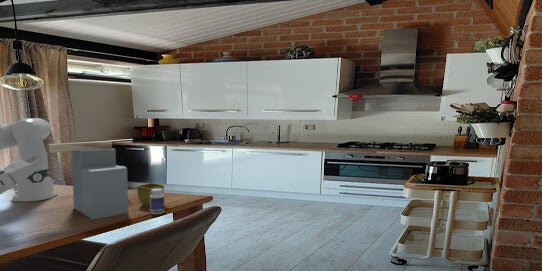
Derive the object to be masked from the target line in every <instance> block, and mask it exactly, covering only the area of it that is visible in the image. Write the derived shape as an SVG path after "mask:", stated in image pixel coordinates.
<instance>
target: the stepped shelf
mask: <svg viewBox="0 0 542 271" xmlns="http://www.w3.org/2000/svg"><path fill="white" fill-rule="evenodd" d="M116 154H117V153H116V148H113V147H112V148H109V149H94V150H78V151H71V156H72V158H71V160H72V163H71V164H72V191H73V194H72V195H73V209H75V210H76V211H77V212H79V213H82V214H83V215H84V216H85V217H86V216H87V217H88V218H89V219H91V220H98V219H104V218H107V217H114V216H119V215H120V216H121V215H124V214H128V213H129V195H128V191H129V190H128V188H129V186H128V167H122V166H123V165H117V162H116V161H117V160H116V158H117V157H116V156H117V155H116Z"/></svg>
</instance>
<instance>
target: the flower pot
mask: <svg viewBox="0 0 542 271" xmlns="http://www.w3.org/2000/svg"><path fill="white" fill-rule="evenodd" d="M158 188H159V189H163V192H162V194H163V195H164V190H165V185H164V184H161V183H160V184H159V183H152V182H150V183H144V184H141V185H137V186H136V190H137V196H138V200H139V202H140V203H141V205H142V206H147V207H150V195H151V194H152V193H151V190H152V189H158Z"/></svg>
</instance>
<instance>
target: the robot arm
mask: <svg viewBox="0 0 542 271" xmlns="http://www.w3.org/2000/svg"><path fill="white" fill-rule="evenodd" d="M51 131H52V126H51V124H50V123H49V122H48V121H47V120H45V119H43V118H39V117H38V118H37V117H33V118H31V117H30V118H22V119H20V120H18V121H16V122H12V123H8V124H7V123H5V124H1V125H0V151H3V150H6V149H10V148H13V147H17V148H18V153H19V159H16V160H15V161H13V162H11V163H9V164H8V165H7V166H4V167H3V168H2V167H0V195H3V193H6V192H7V191H9V190H13V191H15V192H14V193H13V194H12V197H11V202H36V201H43V200H48V199H51V198H53V197H57V196H58V193H57V192H55V189H54V181H53V179H52V178H51V177H50V169H49V168H48V167H49V165H48V162H49V161H48V152H47V151H48V150H46V147H45V142H44V140H45V139H46V138H47V137H48V136H49V135H50V134H51Z"/></svg>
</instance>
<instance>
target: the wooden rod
mask: <svg viewBox="0 0 542 271" xmlns="http://www.w3.org/2000/svg"><path fill="white" fill-rule="evenodd" d="M112 142H113V141H110V140H106V141H104V140H103V141H87V142H86V141H84V142H83V141H82V142H68V143H67V142H64V143H60V142H59V143H47V151H48V152H49V153H57V152H61V153H62V152H72V151H78V150H94V149H109V148H113V143H112ZM48 152H47V153H48Z"/></svg>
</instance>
